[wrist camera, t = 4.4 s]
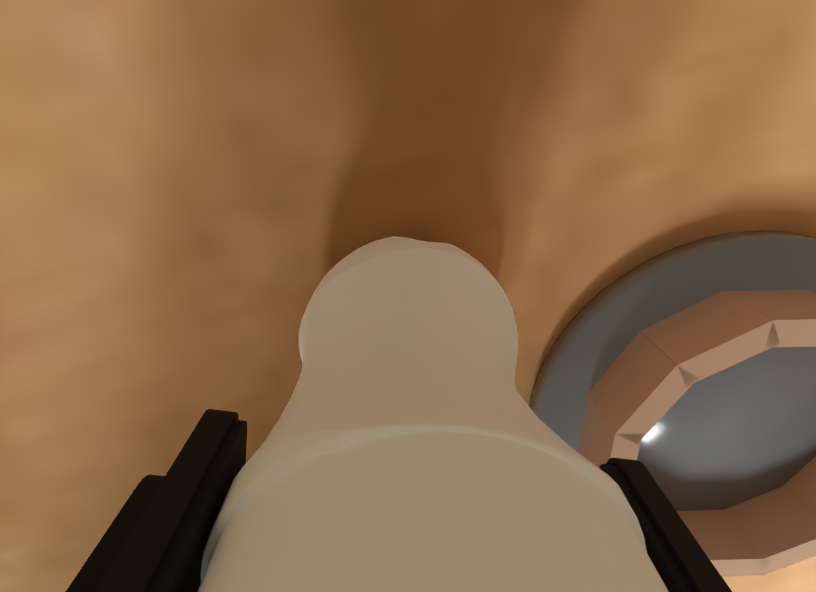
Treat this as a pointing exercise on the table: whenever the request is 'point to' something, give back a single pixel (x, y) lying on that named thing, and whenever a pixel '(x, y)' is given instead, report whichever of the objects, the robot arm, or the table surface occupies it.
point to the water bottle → (418, 453)
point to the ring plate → (704, 390)
